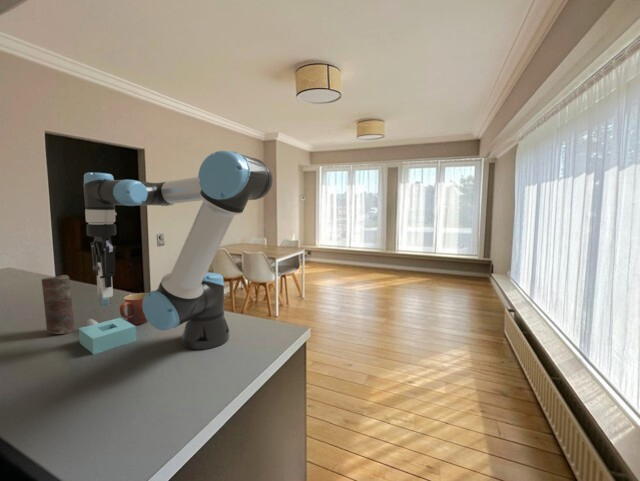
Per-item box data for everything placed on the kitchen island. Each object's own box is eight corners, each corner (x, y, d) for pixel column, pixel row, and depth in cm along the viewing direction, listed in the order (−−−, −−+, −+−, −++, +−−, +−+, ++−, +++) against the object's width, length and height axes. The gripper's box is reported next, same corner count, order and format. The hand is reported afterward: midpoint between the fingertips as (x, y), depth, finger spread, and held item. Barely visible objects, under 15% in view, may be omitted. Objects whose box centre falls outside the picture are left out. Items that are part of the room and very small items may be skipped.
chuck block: (136, 340, 100) (135, 326, 99) (93, 354, 90) (92, 338, 90) (109, 323, 113) (108, 311, 112) (69, 334, 103) (68, 320, 102)
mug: (137, 316, 120) (136, 292, 119) (156, 319, 118) (155, 294, 117) (111, 328, 108) (110, 301, 107) (132, 331, 107) (130, 303, 106)
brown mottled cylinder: (43, 338, 100) (37, 279, 98) (50, 329, 106) (45, 274, 104) (72, 334, 103) (67, 277, 101) (77, 326, 110) (73, 272, 107)
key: (114, 301, 100) (111, 260, 99) (117, 303, 99) (115, 261, 97) (93, 305, 96) (90, 262, 94) (97, 307, 94) (94, 264, 92)
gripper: (125, 224, 92) (129, 298, 95) (105, 221, 101) (108, 288, 104) (97, 225, 86) (101, 303, 89) (77, 222, 95) (82, 293, 98)
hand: (105, 295), depth 97 cm, fingers closed on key, 3 cm apart
